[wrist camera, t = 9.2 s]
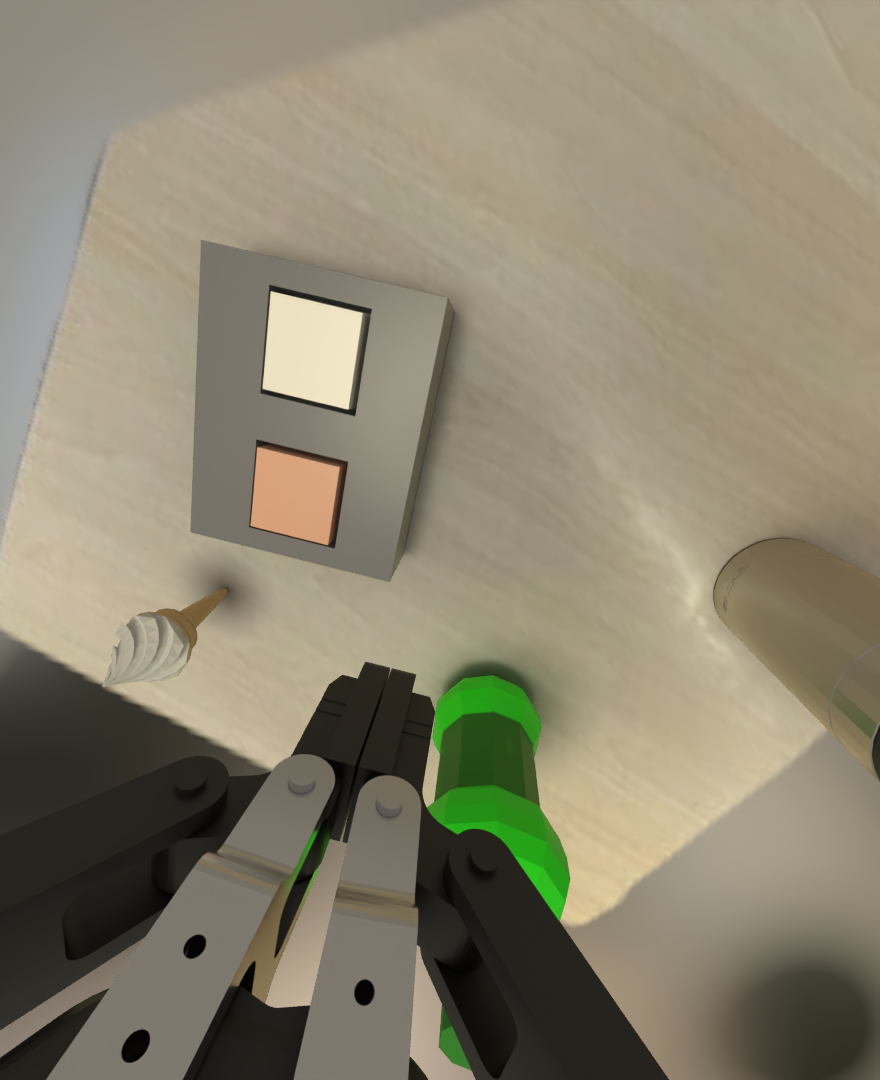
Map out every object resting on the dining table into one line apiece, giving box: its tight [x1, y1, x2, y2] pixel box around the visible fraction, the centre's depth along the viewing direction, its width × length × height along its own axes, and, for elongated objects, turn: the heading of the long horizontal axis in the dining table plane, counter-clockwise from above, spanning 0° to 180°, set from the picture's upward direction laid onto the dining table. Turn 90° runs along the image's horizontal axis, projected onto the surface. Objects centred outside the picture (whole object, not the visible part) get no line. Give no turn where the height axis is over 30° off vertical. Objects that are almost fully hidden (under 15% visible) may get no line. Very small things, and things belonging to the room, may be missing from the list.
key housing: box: [191, 240, 455, 582], centre depth 35 cm, size 16×20×6 cm
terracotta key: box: [251, 443, 348, 545], centre depth 35 cm, size 6×6×3 cm
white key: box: [263, 291, 371, 410], centre depth 31 cm, size 6×6×3 cm
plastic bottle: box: [427, 675, 570, 1071], centre depth 33 cm, size 10×10×25 cm
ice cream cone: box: [102, 588, 228, 687], centre depth 37 cm, size 6×6×15 cm
